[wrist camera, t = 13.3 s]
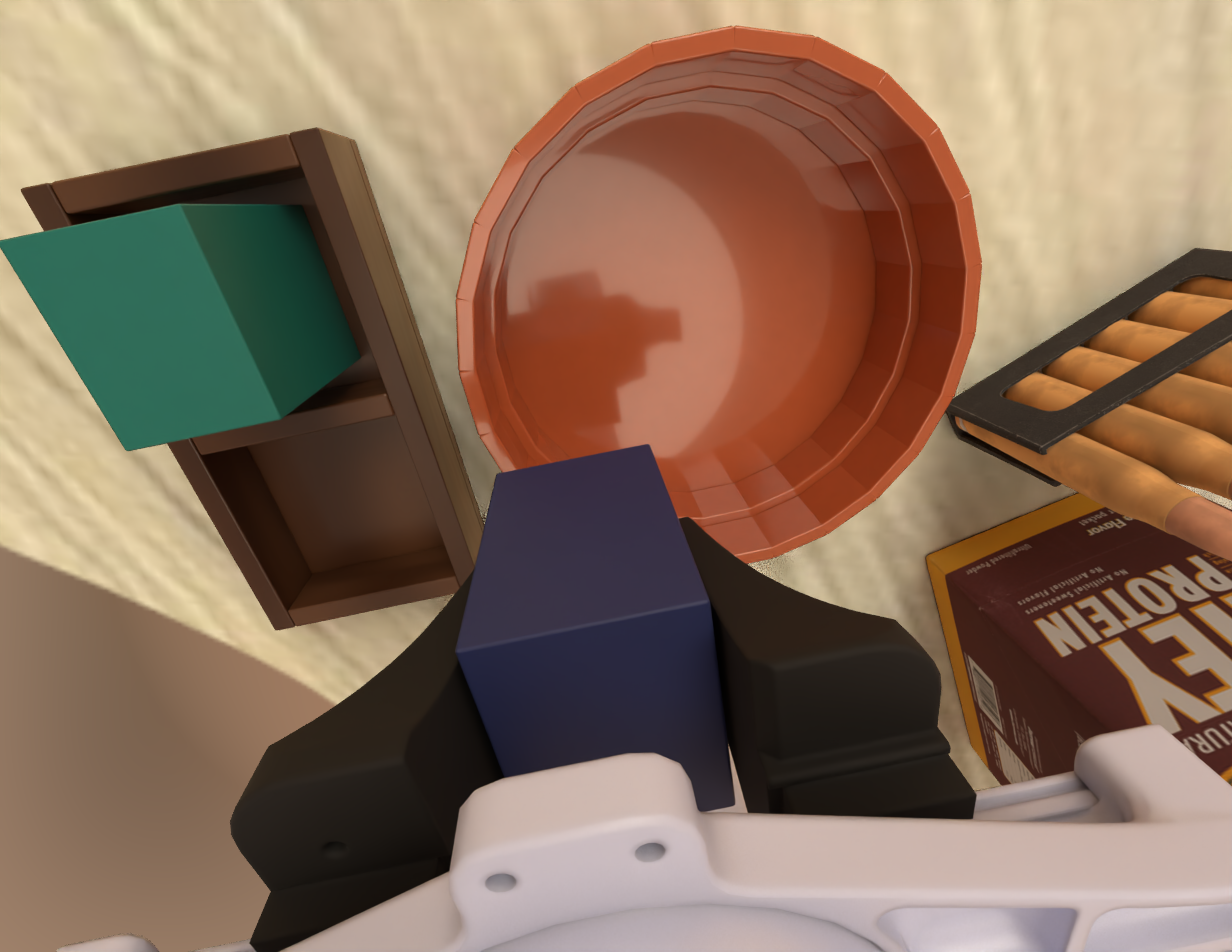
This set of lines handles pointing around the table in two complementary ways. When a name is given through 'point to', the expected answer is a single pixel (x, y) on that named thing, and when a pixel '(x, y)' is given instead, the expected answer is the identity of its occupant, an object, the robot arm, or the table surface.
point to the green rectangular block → (190, 315)
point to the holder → (317, 399)
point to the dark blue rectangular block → (594, 625)
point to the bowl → (725, 282)
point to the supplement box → (1085, 637)
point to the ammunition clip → (1127, 403)
